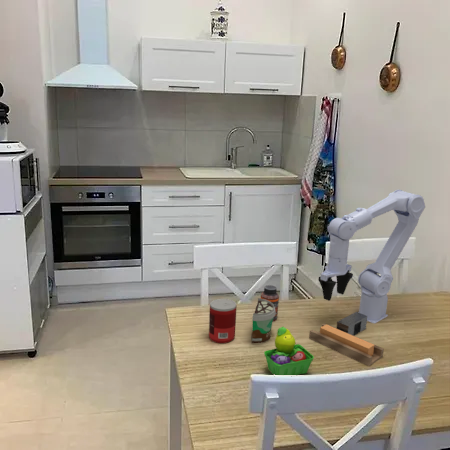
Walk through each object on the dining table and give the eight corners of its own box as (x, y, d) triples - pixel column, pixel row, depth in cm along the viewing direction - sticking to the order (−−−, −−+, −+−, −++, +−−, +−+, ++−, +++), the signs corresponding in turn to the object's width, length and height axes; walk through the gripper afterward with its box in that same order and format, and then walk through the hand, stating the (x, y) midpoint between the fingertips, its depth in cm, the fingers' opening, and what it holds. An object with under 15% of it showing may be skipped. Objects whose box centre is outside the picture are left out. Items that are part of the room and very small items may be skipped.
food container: (271, 348, 135) (274, 316, 132) (250, 345, 136) (252, 314, 133) (275, 328, 146) (278, 299, 144) (256, 326, 147) (258, 297, 145)
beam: (354, 325, 151) (356, 311, 149) (365, 330, 148) (367, 316, 147) (335, 336, 143) (337, 321, 142) (346, 341, 140) (348, 326, 139)
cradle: (308, 339, 140) (309, 330, 140) (323, 332, 145) (324, 323, 145) (368, 367, 126) (370, 357, 126) (382, 358, 132) (383, 348, 131)
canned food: (240, 337, 140) (241, 303, 137) (222, 346, 134) (223, 311, 132) (221, 328, 145) (223, 296, 142) (203, 337, 139) (204, 303, 137)
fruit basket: (275, 383, 118) (279, 343, 115) (259, 365, 125) (262, 327, 123) (313, 375, 122) (317, 336, 119) (295, 358, 130) (298, 321, 127)
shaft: (319, 337, 140) (320, 327, 139) (325, 333, 142) (326, 324, 141) (367, 358, 129) (368, 348, 128) (373, 355, 131) (374, 344, 130)
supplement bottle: (267, 325, 149) (269, 292, 146) (255, 318, 153) (257, 286, 150) (280, 320, 152) (283, 288, 149) (268, 313, 157) (270, 282, 154)
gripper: (339, 248, 153) (335, 287, 157) (313, 257, 144) (310, 298, 147) (358, 254, 149) (354, 293, 152) (333, 263, 139) (329, 305, 142)
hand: (333, 296), depth 149 cm, fingers open, 7 cm apart
